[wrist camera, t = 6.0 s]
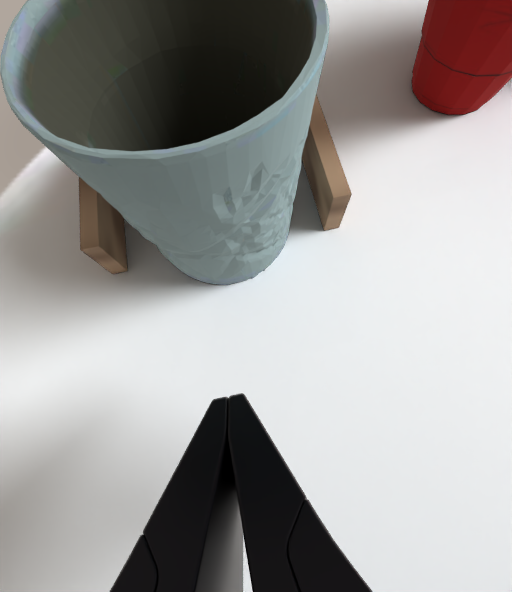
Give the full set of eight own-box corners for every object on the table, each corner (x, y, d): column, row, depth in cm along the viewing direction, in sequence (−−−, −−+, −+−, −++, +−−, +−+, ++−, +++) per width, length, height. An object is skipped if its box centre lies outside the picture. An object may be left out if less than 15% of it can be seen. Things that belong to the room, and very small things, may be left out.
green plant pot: (330, 231, 20) (403, 18, 9) (209, 333, 19) (106, 231, 7) (232, 142, 23) (191, -109, 12) (118, 223, 21) (-60, 24, 10)
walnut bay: (338, 227, 20) (351, 194, 17) (112, 274, 20) (80, 249, 17) (301, 112, 23) (305, 65, 20) (105, 151, 23) (77, 110, 20)
